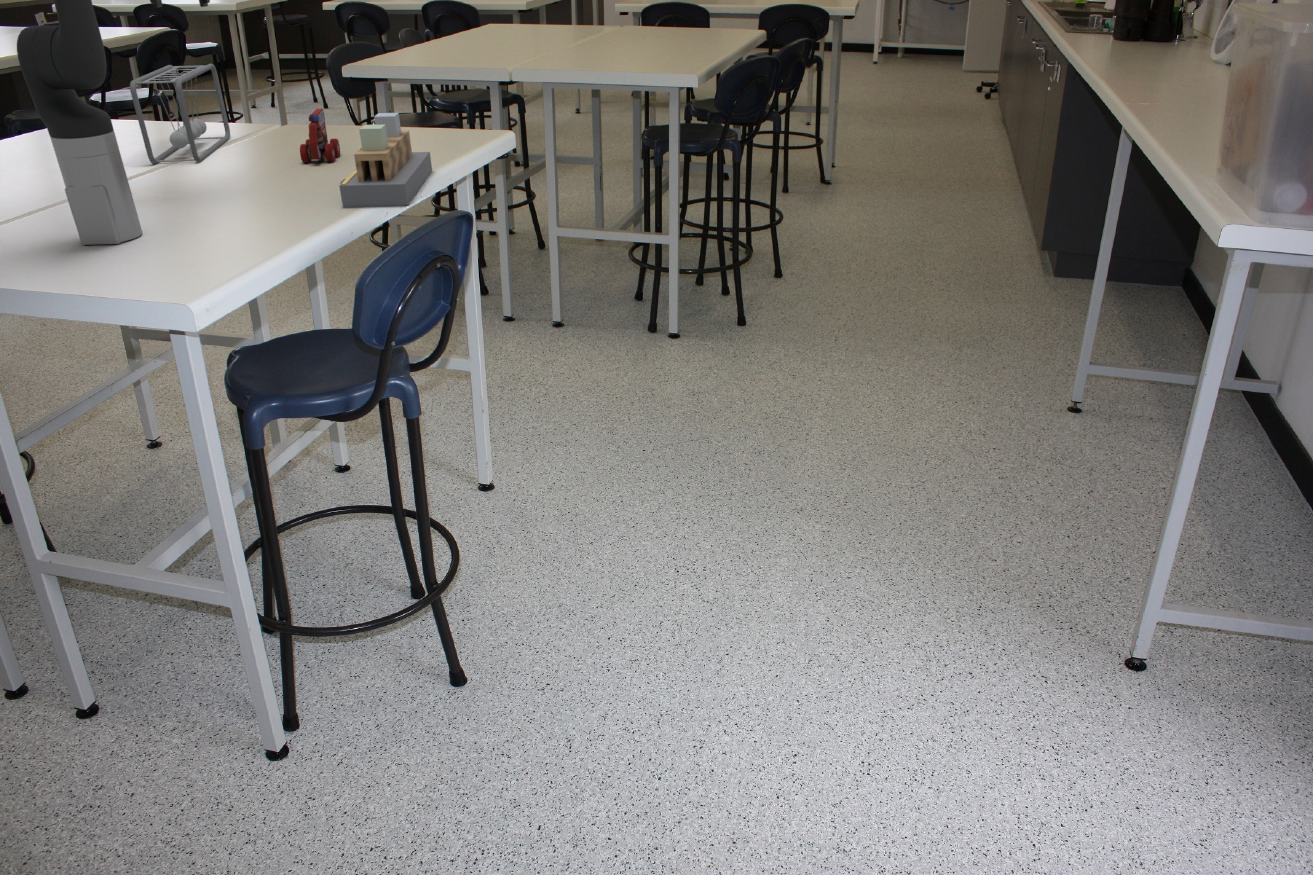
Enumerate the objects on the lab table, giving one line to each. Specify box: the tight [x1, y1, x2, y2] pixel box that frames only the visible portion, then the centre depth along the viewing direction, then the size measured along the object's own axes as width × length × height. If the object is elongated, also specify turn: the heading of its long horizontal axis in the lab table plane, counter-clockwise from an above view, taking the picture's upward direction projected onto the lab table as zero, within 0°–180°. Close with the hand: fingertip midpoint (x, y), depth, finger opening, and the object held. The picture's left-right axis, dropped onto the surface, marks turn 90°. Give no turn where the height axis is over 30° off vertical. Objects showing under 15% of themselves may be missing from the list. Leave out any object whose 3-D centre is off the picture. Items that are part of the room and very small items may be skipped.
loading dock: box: [339, 151, 433, 208], centre depth 188 cm, size 28×13×4 cm, turn 2°
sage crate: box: [358, 124, 389, 151], centre depth 178 cm, size 4×4×4 cm
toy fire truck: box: [299, 108, 341, 164], centre depth 210 cm, size 7×12×10 cm, turn 5°
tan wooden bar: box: [353, 130, 413, 182], centre depth 186 cm, size 22×6×5 cm, turn 2°
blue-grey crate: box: [373, 112, 402, 137], centre depth 189 cm, size 4×4×4 cm
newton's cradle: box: [129, 63, 231, 165], centre depth 219 cm, size 30×10×18 cm, turn 8°
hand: (181, 7), depth 179 cm, fingers open, 8 cm apart
